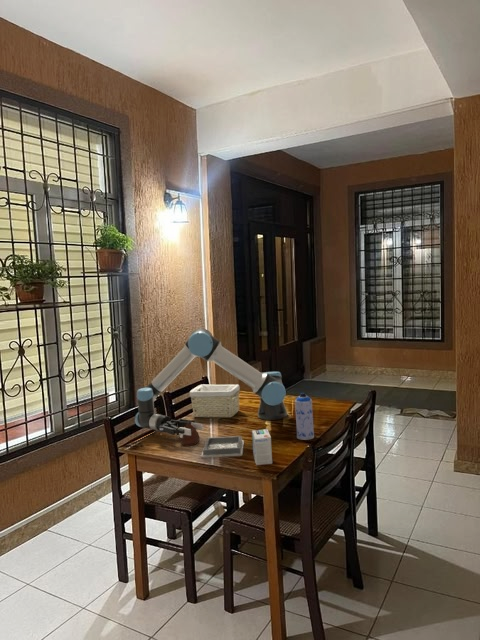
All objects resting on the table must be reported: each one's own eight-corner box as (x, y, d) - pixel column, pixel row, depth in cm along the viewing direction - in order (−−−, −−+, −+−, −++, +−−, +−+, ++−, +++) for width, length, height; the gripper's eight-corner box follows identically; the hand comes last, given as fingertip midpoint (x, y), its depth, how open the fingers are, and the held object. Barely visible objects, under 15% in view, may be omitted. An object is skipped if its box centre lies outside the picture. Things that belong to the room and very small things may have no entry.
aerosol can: (316, 434, 219) (314, 391, 217) (310, 440, 212) (307, 396, 210) (300, 433, 223) (298, 390, 221) (293, 438, 216) (291, 394, 214)
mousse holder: (243, 442, 216) (243, 435, 216) (242, 455, 200) (241, 448, 200) (205, 444, 217) (205, 437, 217) (201, 457, 201) (200, 450, 201)
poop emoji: (196, 446, 215) (194, 425, 214) (177, 446, 217) (176, 426, 216) (202, 438, 225) (200, 418, 224) (184, 438, 227) (182, 419, 226)
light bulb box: (253, 455, 200) (251, 430, 199) (269, 453, 201) (267, 428, 199) (256, 465, 189) (254, 438, 188) (273, 463, 190) (271, 437, 189)
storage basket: (190, 418, 259) (188, 390, 258) (202, 409, 275) (200, 383, 273) (232, 419, 252) (230, 391, 250) (242, 410, 267) (240, 383, 266)
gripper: (176, 424, 240) (211, 431, 226) (145, 437, 224) (181, 445, 210) (175, 409, 239) (210, 415, 225) (144, 421, 223) (180, 428, 209)
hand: (196, 429), depth 217 cm, fingers closed on poop emoji, 7 cm apart
